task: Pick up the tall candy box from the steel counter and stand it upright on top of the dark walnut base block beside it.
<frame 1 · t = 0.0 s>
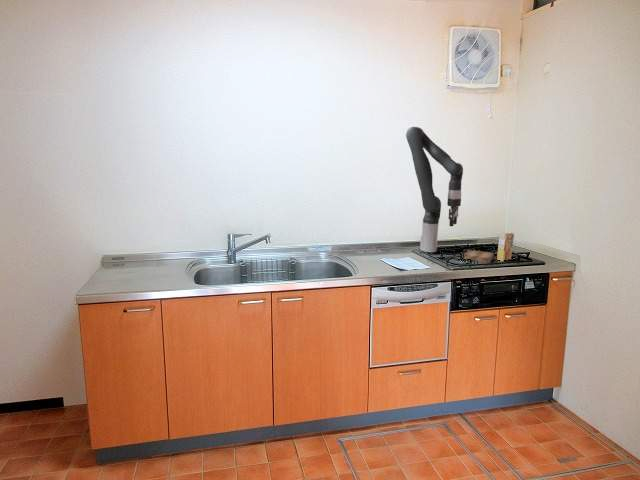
hand: (453, 225, 274), 17 cm above the worktop, tool pointing down, fingers open, 8 cm apart
walnut base: (478, 258, 266), on the worktop
candy box: (503, 260, 266), on the worktop
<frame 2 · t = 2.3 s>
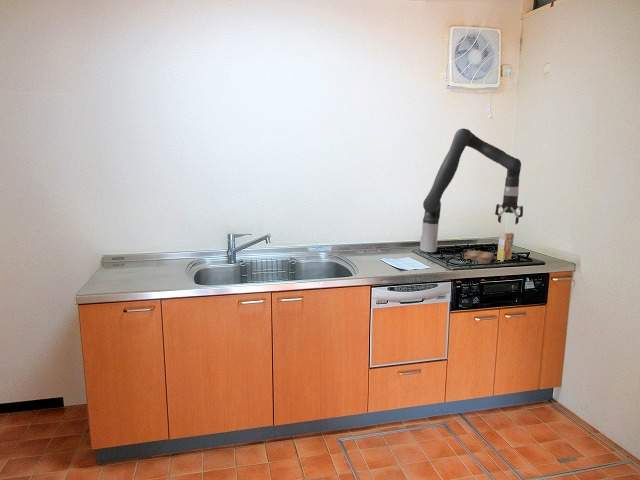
hand: (507, 223, 261), 21 cm above the worktop, tool pointing down, fingers open, 8 cm apart
nothing on the worktop moved.
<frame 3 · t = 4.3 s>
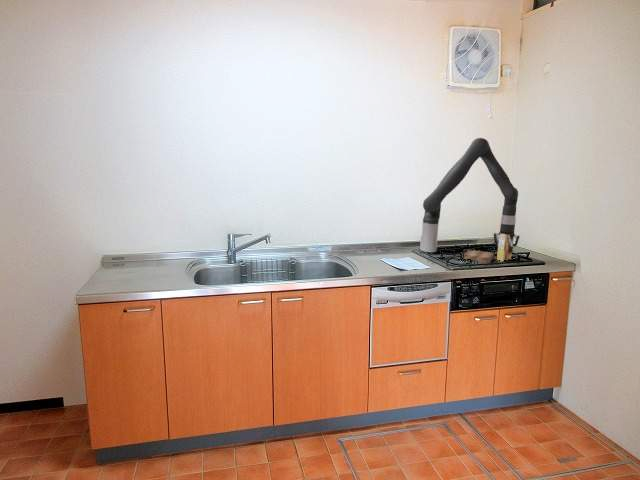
hand: (504, 252, 265), 5 cm above the worktop, tool pointing down, fingers closed on candy box, 5 cm apart
candy box: (503, 260, 266), on the worktop, touching gripper
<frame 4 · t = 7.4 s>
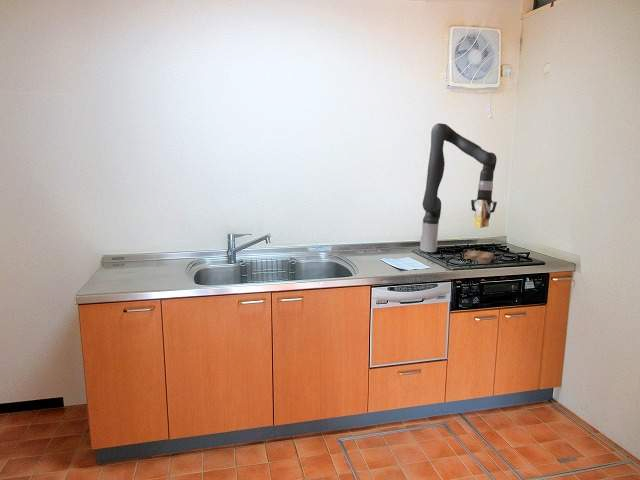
hand: (482, 218, 262), 23 cm above the worktop, tool pointing down, fingers closed on candy box, 5 cm apart
candy box: (481, 227, 262), point 18 cm above the worktop, touching gripper
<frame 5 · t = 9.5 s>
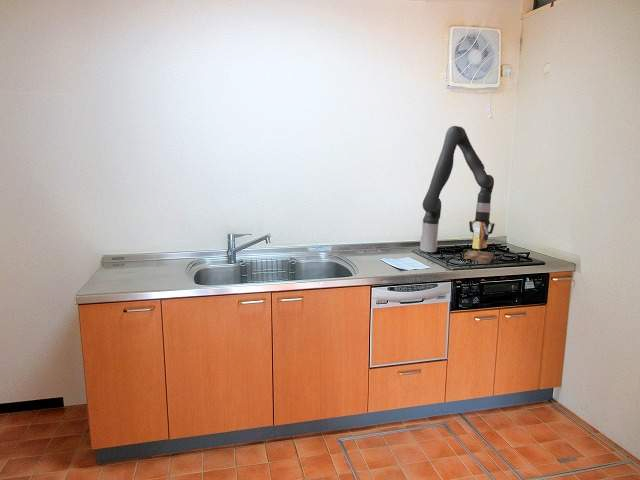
hand: (480, 240, 264), 11 cm above the worktop, tool pointing down, fingers closed on candy box, 5 cm apart
candy box: (479, 248, 265), point 6 cm above the worktop, touching gripper
when the fingers open (9 cm above the worktop, at t = 10.9 s): candy box drops 1 cm, resting on walnut base.
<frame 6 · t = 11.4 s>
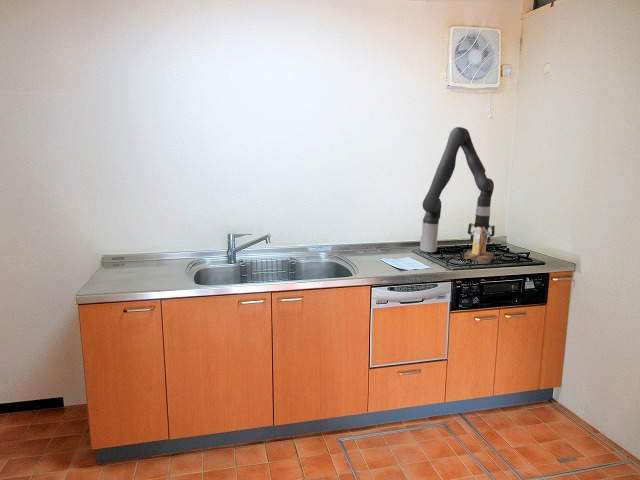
hand: (480, 242, 264), 10 cm above the worktop, tool pointing down, fingers open, 8 cm apart
candy box: (478, 254, 266), point 3 cm above the worktop, touching walnut base
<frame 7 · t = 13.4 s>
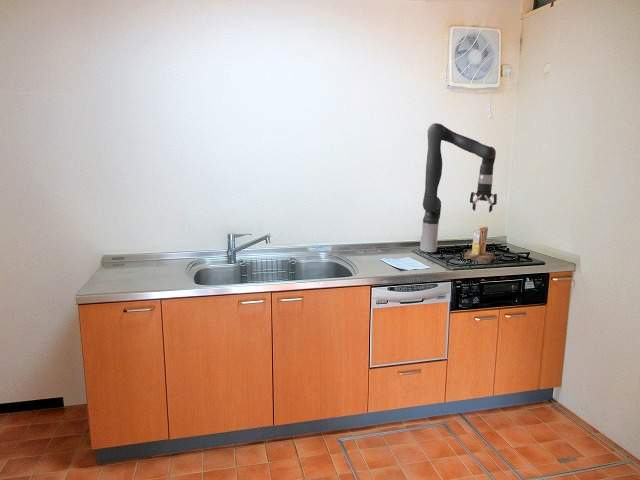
hand: (482, 211, 264), 27 cm above the worktop, tool pointing down, fingers open, 8 cm apart
nothing on the worktop moved.
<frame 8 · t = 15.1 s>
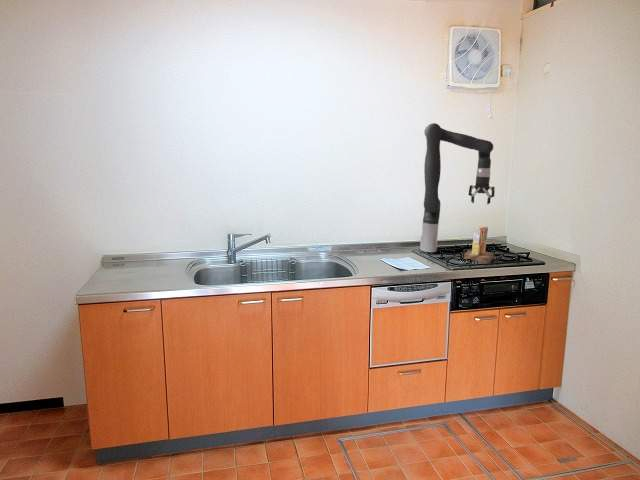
hand: (480, 203, 274), 30 cm above the worktop, tool pointing down, fingers open, 8 cm apart
nothing on the worktop moved.
at the end: candy box inside the target area on the walnut base (0.2 cm from its centre), point 2.8 cm above the walnut base's base; candy box tilted 0°; the gripper is holding nothing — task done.
